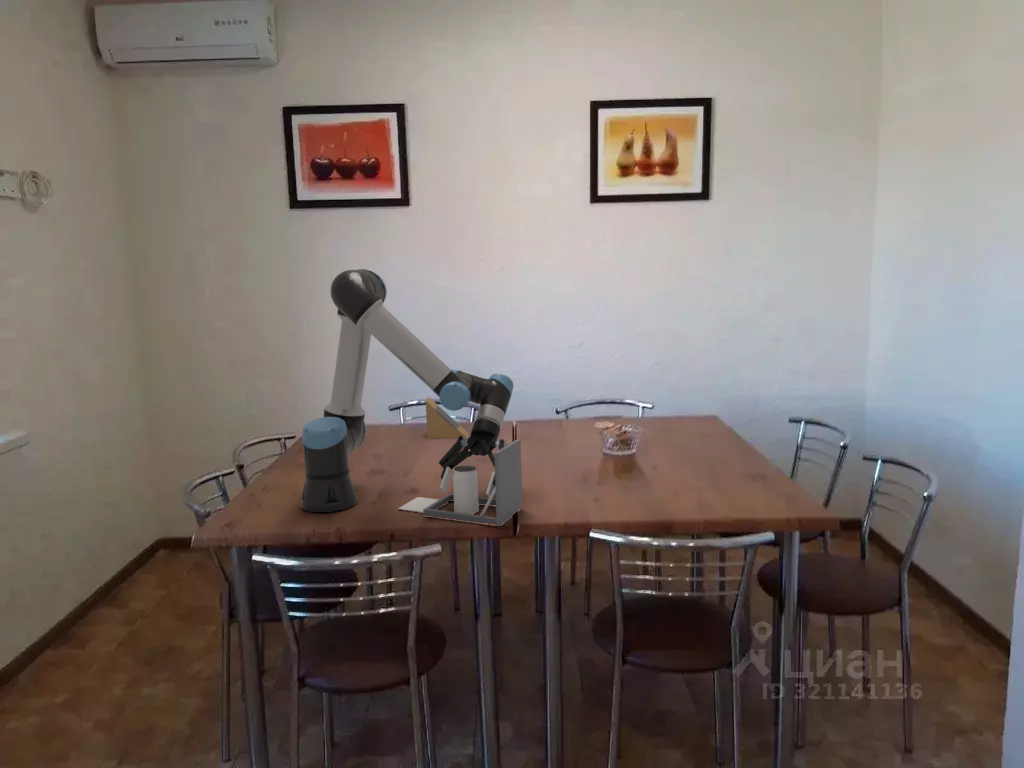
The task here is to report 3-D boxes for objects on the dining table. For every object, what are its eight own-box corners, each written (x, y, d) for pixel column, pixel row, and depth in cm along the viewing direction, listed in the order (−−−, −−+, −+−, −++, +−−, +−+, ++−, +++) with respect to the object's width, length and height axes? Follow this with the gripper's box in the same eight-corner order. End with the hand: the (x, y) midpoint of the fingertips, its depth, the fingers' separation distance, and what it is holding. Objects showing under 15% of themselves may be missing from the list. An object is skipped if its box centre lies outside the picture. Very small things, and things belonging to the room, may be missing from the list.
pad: (398, 510, 190) (398, 508, 190) (417, 498, 199) (417, 496, 199) (424, 514, 187) (424, 511, 187) (442, 502, 196) (442, 500, 196)
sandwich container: (467, 438, 268) (466, 399, 265) (427, 439, 268) (425, 400, 265) (469, 432, 276) (467, 395, 274) (429, 434, 276) (427, 396, 274)
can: (449, 512, 188) (447, 468, 186) (467, 506, 192) (466, 463, 190) (465, 518, 183) (463, 473, 181) (484, 511, 187) (482, 468, 185)
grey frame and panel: (423, 517, 185) (420, 446, 182) (449, 500, 197) (446, 433, 194) (500, 527, 176) (498, 453, 173) (522, 509, 189) (520, 439, 185)
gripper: (533, 435, 194) (513, 505, 183) (452, 429, 204) (429, 495, 193) (525, 420, 189) (504, 491, 178) (443, 414, 198) (418, 482, 187)
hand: (465, 493), depth 185 cm, fingers open, 13 cm apart
